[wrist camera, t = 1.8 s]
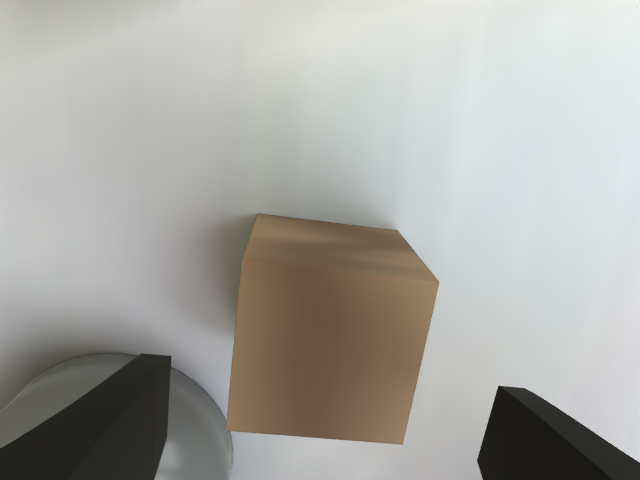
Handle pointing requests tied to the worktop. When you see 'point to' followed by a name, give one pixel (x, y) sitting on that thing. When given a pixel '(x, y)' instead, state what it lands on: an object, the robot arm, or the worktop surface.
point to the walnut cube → (328, 331)
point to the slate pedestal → (183, 416)
